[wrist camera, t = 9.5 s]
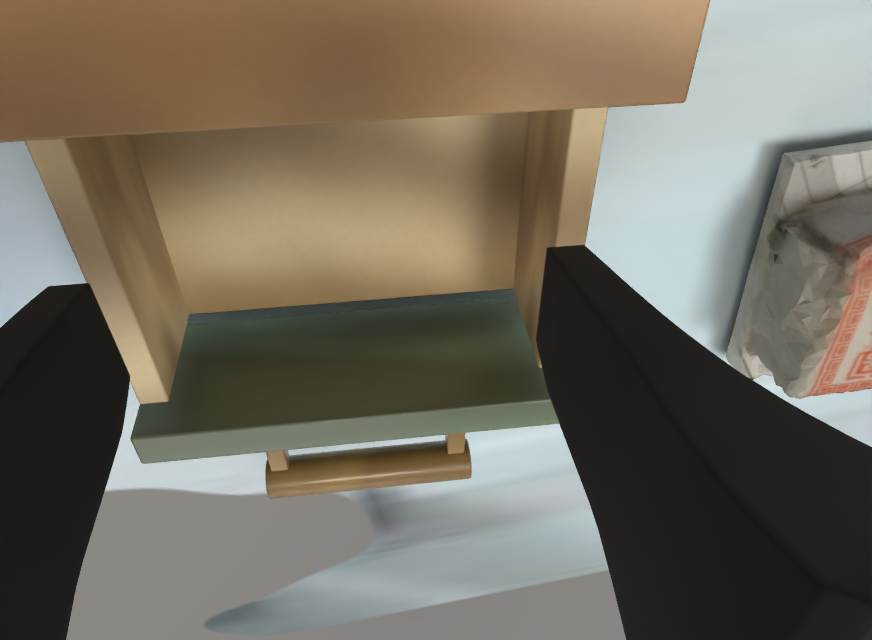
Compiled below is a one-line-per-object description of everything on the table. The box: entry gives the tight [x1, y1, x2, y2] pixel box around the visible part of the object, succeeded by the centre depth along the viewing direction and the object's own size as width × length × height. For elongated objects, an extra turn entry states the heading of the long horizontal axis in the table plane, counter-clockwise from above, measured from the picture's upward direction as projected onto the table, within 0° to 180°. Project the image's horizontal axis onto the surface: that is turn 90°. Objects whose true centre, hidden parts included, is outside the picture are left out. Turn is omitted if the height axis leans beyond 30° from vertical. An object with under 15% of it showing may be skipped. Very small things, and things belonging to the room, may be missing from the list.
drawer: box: [25, 107, 608, 499], centre depth 20 cm, size 16×13×5 cm
